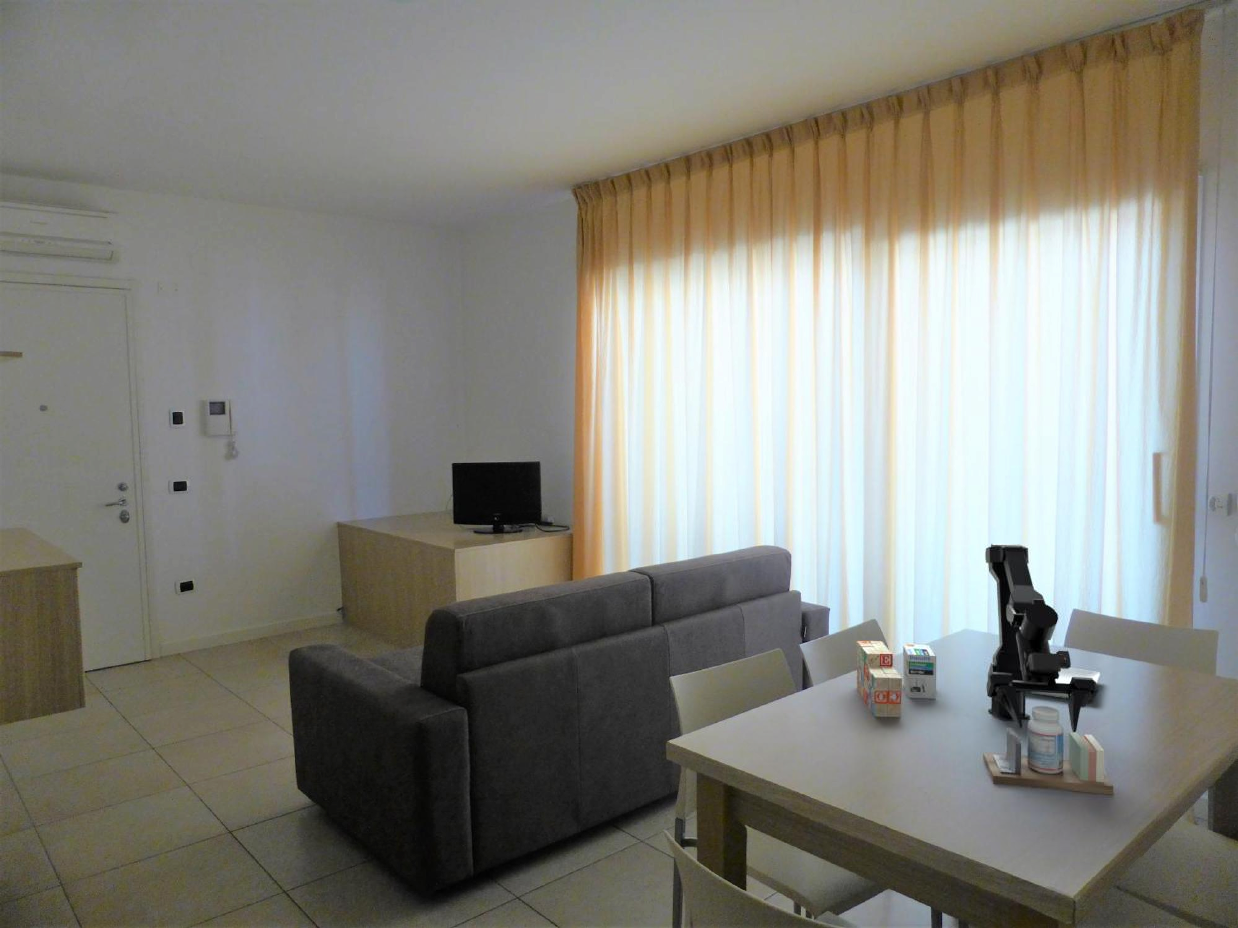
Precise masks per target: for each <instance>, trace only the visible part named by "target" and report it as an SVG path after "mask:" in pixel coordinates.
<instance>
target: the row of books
mask: <svg viewBox="0 0 1238 928" xmlns="http://www.w3.org/2000/svg"><path fill="white" fill-rule="evenodd" d="M1105 752H1106V750H1104V748H1103V747H1102V746H1101V744H1100V743H1099V742H1098V741H1097V740H1096V738H1095V737H1094V736H1093V734H1083V735H1079V734H1078V733H1077V732H1073V731H1069V733H1068V760H1069V764H1070V766H1071V767H1072V769H1073V770H1074V772H1075V773H1076V775H1077V776H1078V777H1079V779H1080V780H1084V781H1096V782H1104V775H1105V761H1106V760H1105V758H1106V757H1105V756H1106V755H1105Z"/></svg>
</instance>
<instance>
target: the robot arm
mask: <svg viewBox="0 0 1238 928" xmlns="http://www.w3.org/2000/svg"><path fill="white" fill-rule="evenodd" d="M984 554H985V556H984V557H985V563H986V564H988V572H989V574H990V575H991V576H992V578H993V579H994V581H995V582H996V597H997V615H998V617H997V620H998V640H999V642H998V643H999V646H998V647H997V649H996V651H995V652H994V654H993V656H992V662H991V663H990V665H989V670H988V672H987V683H986V694H987V697H988V698H990V699H991V708H989V709H987V712H988V713H990V714H993V715H994V716H996V717H998V718H1001V719H1002V720H1003V721H1014V722H1015V724H1016V725H1017V727H1018V729H1022V728H1023V721H1022V720H1025V719H1026V720H1027V719H1031V715H1030V714H1027V713H1026V700H1027V698H1026V697H1027V696H1026V693H1027V692H1029V693H1028V694H1032V693H1031V692H1045V693H1060V694H1068V699H1067V700H1069V702H1068V703H1067V706H1068V713H1069V719H1070V720H1069V721H1070V726H1071V730H1072V731H1071V732H1073V733H1077V729H1078V725H1079V724H1078V722H1079V718H1080V712H1081V708H1086V706H1087V705H1090V704H1093V702H1094V700H1095V697H1096V696H1097V693H1098V692H1099V689H1098V688H1099V687H1098V683H1096V682H1095V681H1094V680H1093V679H1092V678H1083V677H1072V679H1071V681H1070V684H1066V683H1056V680H1055V679H1058V678H1059V672H1060V671H1061V669H1068V668H1072V667H1071V665H1072V662H1071V657H1070V656H1071V655H1070V653H1069V651H1068V650H1058V651H1056V653H1051V649H1050V643H1049V641H1051V640H1052V638H1053V635H1054V631H1055V629H1056V626H1057V624H1058V621H1059V615H1058V612H1057V611H1056V610H1055V609H1054V607H1051V606H1050V605H1048V604H1046V601H1045V598H1044V596H1043V594H1041V593H1040V592H1038V591H1037V590H1036V589H1035V587H1034V584H1033V581H1032V577H1031V572H1030V568H1029V548H1028V547H1026V546H1023V545H1022V544H1020V543H1019V544H1015V543H991V545H990V546H989V547H986V548H985V553H984Z"/></svg>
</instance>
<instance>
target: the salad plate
mask: <svg viewBox="0 0 1238 928" xmlns="http://www.w3.org/2000/svg"><path fill="white" fill-rule="evenodd" d="M1072 677H1083V678H1092V679H1093V680H1094V681H1095V682H1096V683H1097V684H1098V682H1099V680H1100V677H1101V673H1100V672H1098V671H1095V670H1087V669H1080V668H1073V667H1070V668H1068V669H1061V671H1060V672H1059V678H1058V679H1055V680H1056V683H1066V684H1070V681H1071V679H1072ZM1026 693H1028V694H1034V695H1041V696H1047V697H1053V696H1054V697H1055V698H1060V697H1061V698H1062V699H1066V698H1068V694H1060V693H1045V692H1031V693H1029V692H1026ZM1054 697H1053V698H1054ZM1061 698H1060V699H1061Z"/></svg>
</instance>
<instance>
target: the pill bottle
mask: <svg viewBox="0 0 1238 928" xmlns="http://www.w3.org/2000/svg"><path fill="white" fill-rule="evenodd" d="M1031 716H1032V718H1030V719H1029V720H1028V723H1027V748H1026V749H1027V752H1026V753H1027V754H1026V755H1027V764H1028V766H1029V767H1030V768H1031V769H1033V770H1036V771H1038V772H1041V773H1046V774H1056V773H1060V772H1061V771H1062V770H1063V760H1064V727H1063V724H1061V723H1060V722H1059V721H1060V711H1059V710H1058V709H1057V708H1054V707H1051V706H1045V705H1036V706H1034V707H1032V709H1031Z"/></svg>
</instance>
